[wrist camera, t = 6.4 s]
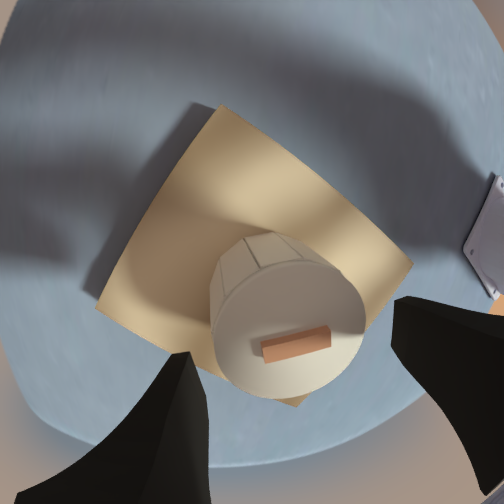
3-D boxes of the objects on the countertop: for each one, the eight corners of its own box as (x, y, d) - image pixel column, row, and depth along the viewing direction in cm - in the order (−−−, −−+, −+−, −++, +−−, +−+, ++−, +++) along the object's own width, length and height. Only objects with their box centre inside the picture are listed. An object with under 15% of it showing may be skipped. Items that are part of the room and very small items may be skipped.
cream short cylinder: (314, 224, 14) (371, 252, 9) (322, 322, 15) (366, 381, 10) (200, 245, 13) (195, 290, 8) (223, 345, 15) (233, 417, 10)
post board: (398, 256, 17) (451, 283, 12) (290, 391, 19) (311, 444, 14) (219, 111, 13) (225, 80, 8) (104, 295, 15) (69, 342, 10)
